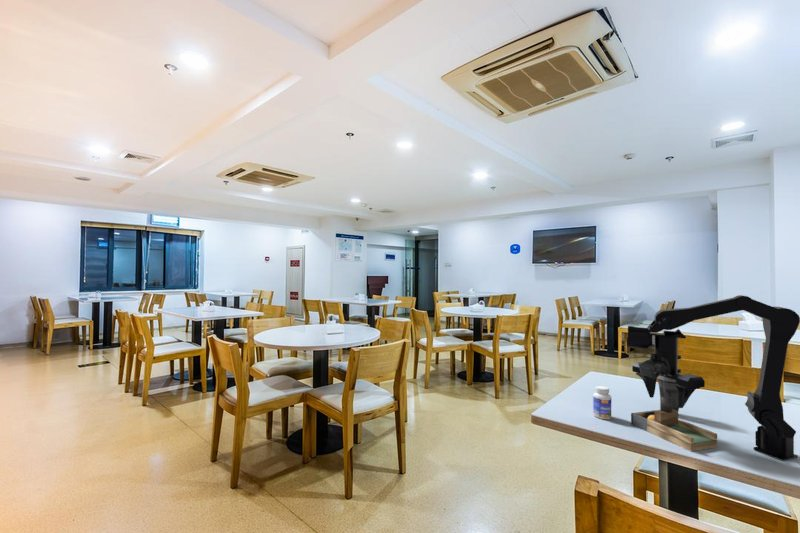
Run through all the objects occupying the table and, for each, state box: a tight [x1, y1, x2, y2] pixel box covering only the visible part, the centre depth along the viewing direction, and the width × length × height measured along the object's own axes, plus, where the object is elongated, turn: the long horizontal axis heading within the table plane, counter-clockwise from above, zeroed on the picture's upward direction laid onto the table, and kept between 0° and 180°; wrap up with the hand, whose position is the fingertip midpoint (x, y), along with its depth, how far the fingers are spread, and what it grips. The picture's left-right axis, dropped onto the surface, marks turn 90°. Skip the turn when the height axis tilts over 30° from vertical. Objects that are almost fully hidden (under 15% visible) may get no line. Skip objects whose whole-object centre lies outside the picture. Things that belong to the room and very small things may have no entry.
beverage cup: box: [657, 373, 680, 412], centre depth 128 cm, size 7×7×20 cm
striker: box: [654, 395, 679, 426], centre depth 112 cm, size 3×7×8 cm, turn 107°
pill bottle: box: [592, 385, 612, 420], centre depth 125 cm, size 5×5×10 cm
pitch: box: [646, 418, 718, 452], centre depth 108 cm, size 13×10×4 cm
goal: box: [630, 409, 657, 432], centre depth 117 cm, size 6×10×4 cm, turn 106°
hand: (665, 402), depth 113 cm, fingers open, 9 cm apart
